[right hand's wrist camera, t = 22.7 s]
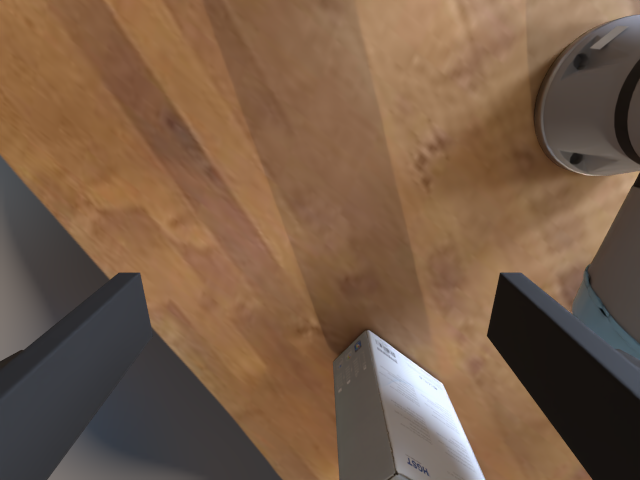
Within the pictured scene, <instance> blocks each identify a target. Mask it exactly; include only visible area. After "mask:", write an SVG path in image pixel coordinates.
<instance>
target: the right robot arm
mask: <svg viewBox="0 0 640 480" xmlns="http://www.w3.org/2000/svg"><path fill="white" fill-rule="evenodd" d="M534 122H535V131H536V135H537V139H538V141H539V144H540V146H541V148H542V149H543V151H544V152H545V154H546V155H547V156H548V157H549V158H550V159H551V160H552V161H553V162H554V163H555V164H557V165H558V166H560V167H562V168H564V169H566V170H569V171H572V172H576V173H580V174H584V175H591V176H609V175H616V174H623V173H629V172H635V171H640V15H633V16H627V17H623V18H620V19H617V20H613V21H610V22H607V23H604V24H601V25H599V26H597V27H595V28H593V29H591V30H589V31H587V32H586V33H584V34H583V35H581V36H580V37H578V38H577V39H576V40H575V41H573V42H572V43H571V44H570V45H569V46H568V47H567V48H566V49H565V50H564V51H563V52H562V53H561V54H560V55H559V56H558V58H557V59H556V60H555V62H554V63H553V64H552V66H551V67H550V69H549V71H548V72H547V74H546V76H545V78H544V80H543V82H542V85H541V87H540V90H539V93H538V96H537V100H536V105H535V115H534ZM572 313H573V315H572V314H571V313H570V312H569V311H567V310H566V309H565V308H564V307H563V306H561V305H560V304H559V303H558V302H556V301H555V300H554V299H553V298H552V297H550V296H549V295H548V294H547V293H545V292H544V291H543V290H542V289H540V288H539V287H538V286H537V285H536V284H534V283H533V282H532V281H531V280H529V279H528V278H527V277H526V276H524V275H523V274H522V273H500V275H499V280H498V285H497V290H496V295H495V299H494V304H493V309H492V314H491V319H490V324H489V328H488V333H487V337H488V338H489V339H490V341H491V342H492V343H493V345H494V346H495V347H496V349H497V350H498V352H499V353H500V354H501V356H502V357H503V358H504V360H505V361H506V362H507V364H508V365H509V367H510V368H511V369H512V371H513V372H514V373H515V375H516V376H517V377H518V379H519V380H520V381H521V383H522V384H523V386H524V387H525V388H526V390H527V391H528V392H529V394H530V395H531V396H532V398H533V399H534V400H535V402H536V403H537V405H538V406H539V407H540V409H541V410H542V411H543V413H544V414H545V415H546V417H547V418H548V420H549V421H550V422H551V424H552V425H553V426H554V428H555V429H556V430H557V432H558V433H559V434H560V436H561V437H562V439H563V440H564V441H565V443H566V444H567V445H568V447H569V448H570V449H571V451H572V452H573V453H574V455H575V456H576V458H577V459H578V460H579V462H580V463H581V464H582V466H583V467H584V468H585V470H586V471H587V473H588V474H589V475H590V477H591V478H592V479H593V480H640V173H639V175H638V177H637V179H636V181H635V183H634V185H633V186H632V187H631V189H630V191H629V193H628V195H627V197H626V199H625V201H624V203H623V204H622V206H621V208H620V210H619V212H618V214H617V216H616V218H615V220H614V222H613V223H612V225H611V227H610V229H609V231H608V233H607V235H606V237H605V239H604V241H603V243H602V244H601V246H600V248H599V250H598V252H597V254H596V256H595V257H594V259H593V261H592V263H591V264H589V265H588V266H587V267H586V269H585V271H584V275H583V281H582V283H581V286H580V288H579V290H578V293H577V295H576V297H575V299H574V302H573V306H572ZM152 337H153V333H152V328H151V324H150V319H149V314H148V309H147V304H146V299H145V295H144V290H143V285H142V280H141V275H140V273H118V274H117V275H116V276H114V277H113V278H112V279H111V280H109V281H108V282H107V283H106V284H104V285H103V286H102V287H101V288H100V289H98V290H97V291H96V292H95V293H93V294H92V295H91V296H90V297H88V298H87V299H86V300H85V301H84V302H82V303H81V304H80V305H79V306H77V307H76V308H75V309H74V310H73V311H71V312H70V313H69V314H68V315H66V316H65V317H64V318H63V319H61V320H60V321H59V322H58V323H57V324H55V325H54V326H53V327H52V328H50V329H49V330H48V331H47V332H46V333H44V334H43V335H42V336H41V337H39V338H38V339H37V340H36V341H35V342H33V343H32V344H31V345H30V346H28V347H27V348H26V349H25V350H20V351H19V352H17V353H15V354H13V355H11V356H9V357H7V358H6V359H4V360H2V361H0V480H47V479H48V478H49V477H50V475H51V474H52V472H53V471H54V470H55V468H56V467H57V466H58V464H59V463H60V462H61V460H62V459H63V457H64V456H65V455H66V453H67V452H68V451H69V449H70V448H71V447H72V445H73V444H74V443H75V441H76V440H77V439H78V437H79V436H80V434H81V433H82V432H83V430H84V429H85V428H86V426H87V425H88V424H89V422H90V421H91V420H92V418H93V417H94V415H95V414H96V413H97V411H98V410H99V409H100V407H101V406H102V405H103V403H104V402H105V400H106V399H107V398H108V396H109V395H110V394H111V392H112V391H113V390H114V388H115V387H116V386H117V384H118V383H119V381H120V380H121V379H122V377H123V376H124V375H125V373H126V372H127V371H128V369H129V368H130V366H131V365H132V364H133V362H134V361H135V360H136V358H137V357H138V356H139V354H140V353H141V352H142V350H143V349H144V347H145V346H146V345H147V343H148V342H149V341H150V339H151V338H152Z"/></svg>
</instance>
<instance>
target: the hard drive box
mask: <svg viewBox="0 0 640 480" xmlns="http://www.w3.org/2000/svg"><path fill="white" fill-rule="evenodd" d="M333 372H334V390H335V408H336V427H337V444H338V462H339V479H340V480H485V477H484V475H483V473H482V471H481V469H480V466H479V464H478V462H477V459H476V457H475V455H474V453H473V450H472V448H471V446H470V444H469V441H468V439H467V437H466V435H465V433H464V430H463V428H462V426H461V423H460V421H459V419H458V417H457V415H456V412H455V410H454V408H453V406H452V403H451V401H450V399H449V397H448V394H447V392H446V390H445V388H444V386H443V384H442V383H441V382H439V381H438V380H437V379H435V378H434V377H432V376H431V375H430V374H429V373H427V372H426V371H424V370H423V369H422V368H420V367H419V366H417V365H416V364H415V363H413V362H412V361H411V360H409V359H408V358H407V357H405V356H404V355H402V354H401V353H400V352H398V351H397V350H396V349H394V348H393V347H392V346H391V345H389V344H388V343H386V342H385V341H384V340H382V339H381V338H379V337H378V336H376V335H375V334H374V333H372V332H371V331H370V330H367V331H364V332H363V333H362V334H361V335H360V336H359V337H358V338H357V339H356V340H355V341H354V342H353V343H352V344H351V345H350V346H349V347H348V348H347V349H346V350H345V351H344V352H343V353H342V354H340V355H339V356H338V357H337V358H336V359H335V360H334V362H333Z"/></svg>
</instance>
